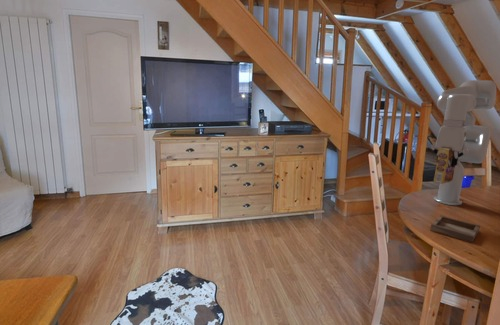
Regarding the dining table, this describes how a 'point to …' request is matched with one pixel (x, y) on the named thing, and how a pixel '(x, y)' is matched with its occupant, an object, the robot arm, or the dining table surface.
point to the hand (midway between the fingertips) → (446, 165)
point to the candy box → (444, 166)
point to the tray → (455, 228)
